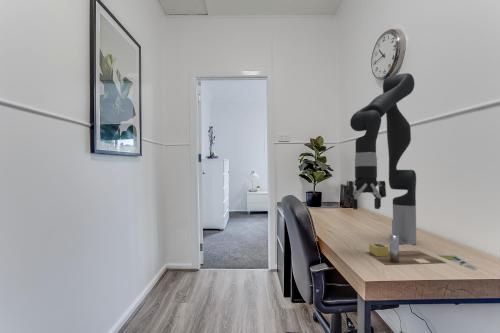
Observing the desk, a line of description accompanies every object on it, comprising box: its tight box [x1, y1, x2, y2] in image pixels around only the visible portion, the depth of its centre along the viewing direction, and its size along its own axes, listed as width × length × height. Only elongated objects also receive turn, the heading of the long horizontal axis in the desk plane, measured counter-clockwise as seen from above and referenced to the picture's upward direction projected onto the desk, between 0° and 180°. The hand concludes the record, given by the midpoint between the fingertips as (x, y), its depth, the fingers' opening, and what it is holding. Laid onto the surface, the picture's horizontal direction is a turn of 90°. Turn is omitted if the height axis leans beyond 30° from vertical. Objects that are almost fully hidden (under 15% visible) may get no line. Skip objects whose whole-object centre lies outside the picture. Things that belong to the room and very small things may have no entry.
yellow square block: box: [368, 242, 389, 256], centre depth 100 cm, size 5×5×4 cm
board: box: [364, 250, 447, 266], centre depth 97 cm, size 14×22×2 cm, turn 95°
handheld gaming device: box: [434, 253, 478, 270], centre depth 97 cm, size 9×1×15 cm
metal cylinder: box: [389, 233, 400, 263], centre depth 92 cm, size 3×3×9 cm
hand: (366, 209), depth 99 cm, fingers open, 8 cm apart
